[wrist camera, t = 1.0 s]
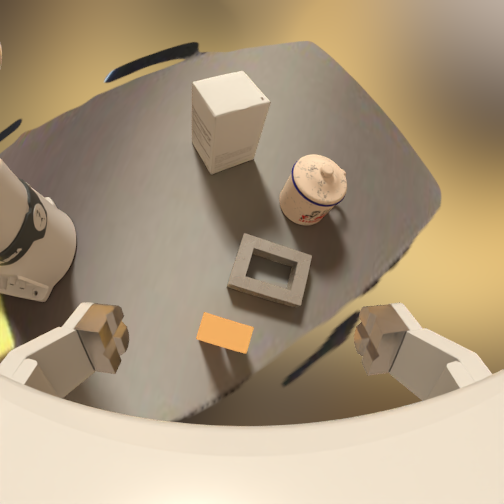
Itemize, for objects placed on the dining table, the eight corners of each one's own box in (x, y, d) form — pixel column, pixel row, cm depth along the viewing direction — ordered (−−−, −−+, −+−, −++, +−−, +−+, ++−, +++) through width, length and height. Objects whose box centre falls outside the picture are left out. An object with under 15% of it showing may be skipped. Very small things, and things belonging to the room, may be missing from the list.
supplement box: (232, 127, 51) (244, 68, 37) (254, 159, 50) (273, 102, 35) (190, 140, 49) (190, 80, 34) (209, 176, 47) (215, 116, 33)
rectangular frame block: (294, 307, 43) (300, 305, 40) (226, 286, 42) (228, 283, 39) (305, 260, 45) (312, 255, 42) (241, 239, 44) (244, 232, 42)
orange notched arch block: (239, 329, 40) (253, 327, 29) (233, 348, 39) (246, 353, 28) (203, 318, 40) (204, 312, 29) (197, 337, 39) (195, 338, 28)
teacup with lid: (296, 236, 46) (324, 206, 35) (267, 193, 48) (285, 154, 37) (345, 208, 50) (377, 177, 39) (317, 170, 51) (342, 133, 40)
